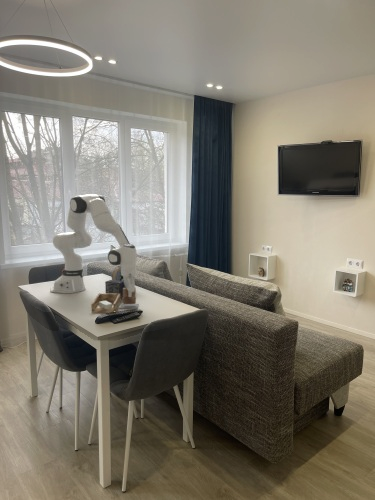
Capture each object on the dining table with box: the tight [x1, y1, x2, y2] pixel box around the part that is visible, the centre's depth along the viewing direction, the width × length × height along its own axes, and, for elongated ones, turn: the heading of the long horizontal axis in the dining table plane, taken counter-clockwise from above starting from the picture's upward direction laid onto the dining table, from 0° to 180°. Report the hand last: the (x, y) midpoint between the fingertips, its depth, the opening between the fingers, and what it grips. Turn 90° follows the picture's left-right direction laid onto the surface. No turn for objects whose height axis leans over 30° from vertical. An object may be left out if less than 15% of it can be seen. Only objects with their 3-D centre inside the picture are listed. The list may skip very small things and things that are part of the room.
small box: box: [104, 279, 124, 300], centre depth 231 cm, size 11×6×10 cm, turn 71°
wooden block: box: [122, 287, 137, 304], centre depth 213 cm, size 7×3×9 cm, turn 104°
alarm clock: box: [111, 265, 126, 288], centre depth 248 cm, size 14×10×18 cm
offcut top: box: [98, 301, 113, 309], centre depth 206 cm, size 8×4×2 cm, turn 38°
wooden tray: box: [91, 293, 121, 314], centre depth 212 cm, size 13×21×5 cm, turn 3°
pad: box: [119, 303, 140, 310], centre depth 214 cm, size 10×8×1 cm
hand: (129, 295), depth 213 cm, fingers closed on wooden block, 3 cm apart
